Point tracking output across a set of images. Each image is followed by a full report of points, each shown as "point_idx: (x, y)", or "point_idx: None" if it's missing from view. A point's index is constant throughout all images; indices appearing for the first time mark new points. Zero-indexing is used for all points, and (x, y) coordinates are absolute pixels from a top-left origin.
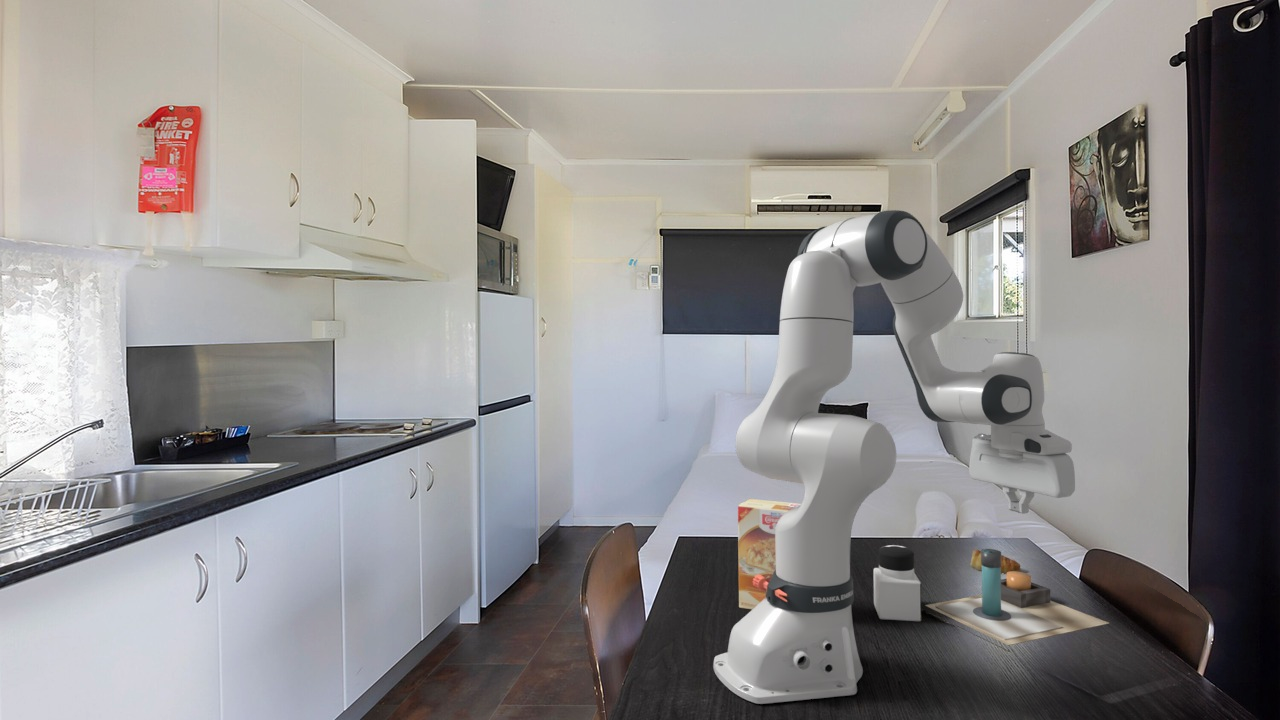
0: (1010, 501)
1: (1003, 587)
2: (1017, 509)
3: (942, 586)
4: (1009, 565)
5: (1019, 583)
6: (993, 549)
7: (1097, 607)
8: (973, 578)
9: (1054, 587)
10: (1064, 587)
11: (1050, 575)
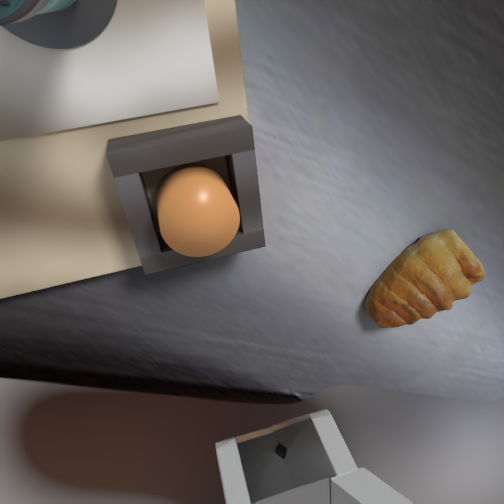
0: (337, 477)
1: (185, 140)
2: (254, 448)
3: (383, 39)
4: (384, 301)
5: (164, 194)
6: (17, 10)
7: (131, 344)
8: (390, 185)
9: (267, 329)
10: (261, 347)
11: (329, 358)
